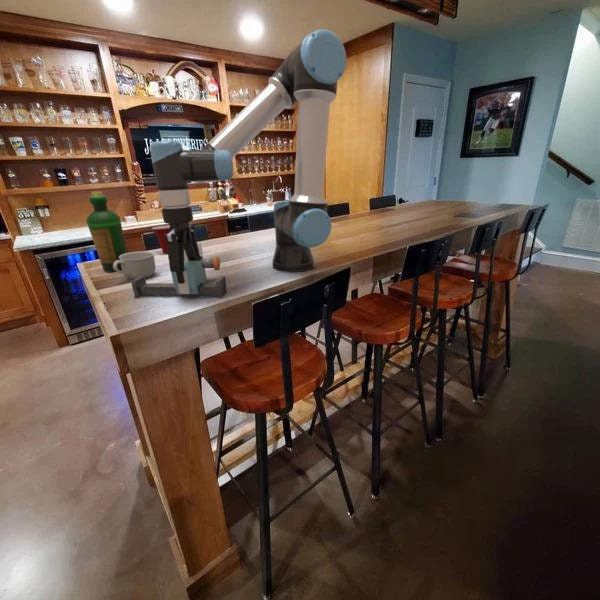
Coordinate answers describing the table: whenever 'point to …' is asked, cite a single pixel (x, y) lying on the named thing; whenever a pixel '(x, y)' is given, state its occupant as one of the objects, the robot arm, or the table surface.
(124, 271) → the teacup
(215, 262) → the button
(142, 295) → the rail
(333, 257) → the table surface
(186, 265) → the carriage
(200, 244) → the cabinet
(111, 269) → the bottle
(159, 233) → the plastic cup
